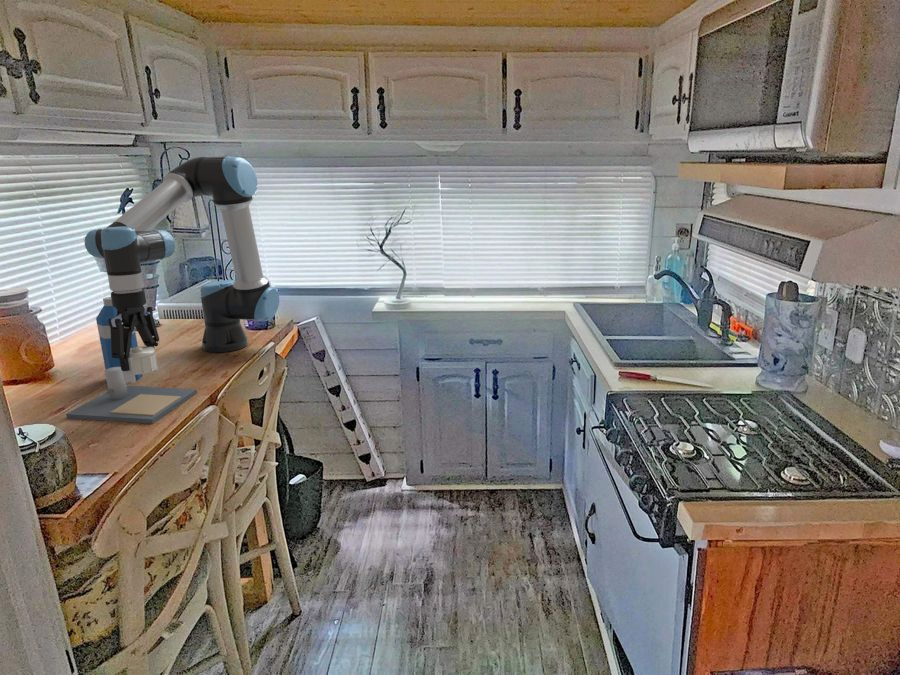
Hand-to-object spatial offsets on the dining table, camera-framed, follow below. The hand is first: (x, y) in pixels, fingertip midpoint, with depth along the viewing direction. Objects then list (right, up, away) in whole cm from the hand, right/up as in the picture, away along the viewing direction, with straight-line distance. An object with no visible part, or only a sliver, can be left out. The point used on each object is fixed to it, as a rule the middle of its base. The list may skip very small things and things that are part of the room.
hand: (141, 375), depth 151 cm
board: (-5, -8, +6) cm, 11 cm away
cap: (0, +2, 0) cm, 2 cm away
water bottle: (-18, -3, +25) cm, 31 cm away
